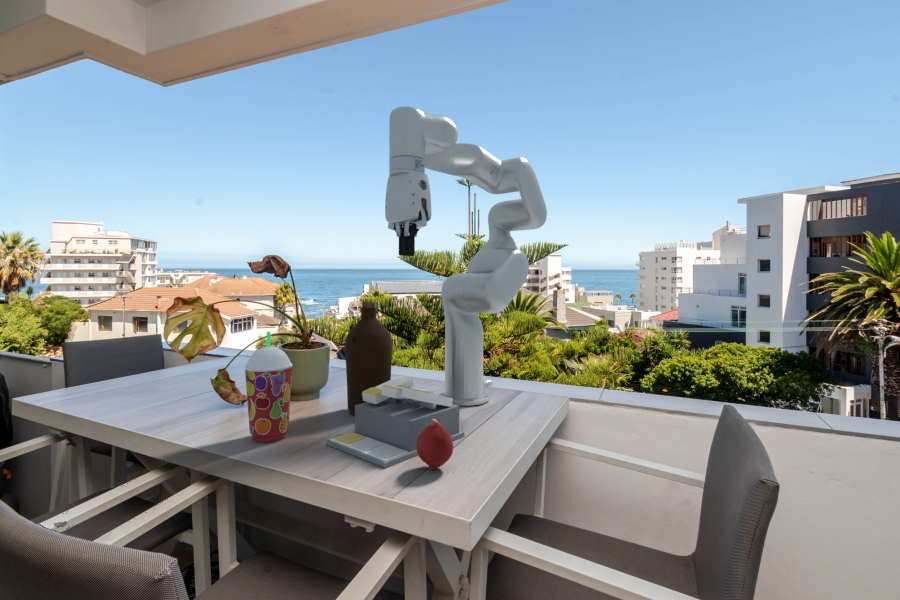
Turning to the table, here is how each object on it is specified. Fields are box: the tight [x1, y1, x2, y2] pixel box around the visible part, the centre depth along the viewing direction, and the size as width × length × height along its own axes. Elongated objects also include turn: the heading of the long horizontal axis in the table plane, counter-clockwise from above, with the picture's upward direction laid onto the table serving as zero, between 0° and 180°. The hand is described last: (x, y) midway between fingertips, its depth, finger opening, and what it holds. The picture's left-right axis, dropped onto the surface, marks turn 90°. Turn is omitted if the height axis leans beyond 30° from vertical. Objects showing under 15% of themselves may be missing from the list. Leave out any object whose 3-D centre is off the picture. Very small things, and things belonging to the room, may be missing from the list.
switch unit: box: [325, 398, 465, 469], centre depth 85 cm, size 20×16×7 cm
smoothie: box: [244, 331, 293, 443], centre depth 86 cm, size 8×8×20 cm
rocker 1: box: [362, 375, 415, 404], centre depth 90 cm, size 10×4×3 cm, turn 139°
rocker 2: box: [381, 385, 434, 404], centre depth 87 cm, size 10×4×3 cm, turn 140°
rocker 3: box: [401, 387, 453, 409], centre depth 84 cm, size 10×4×3 cm, turn 140°
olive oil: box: [344, 300, 393, 416], centre depth 104 cm, size 11×11×25 cm
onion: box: [416, 419, 454, 470], centre depth 72 cm, size 6×6×8 cm
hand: (406, 255), depth 98 cm, fingers closed
